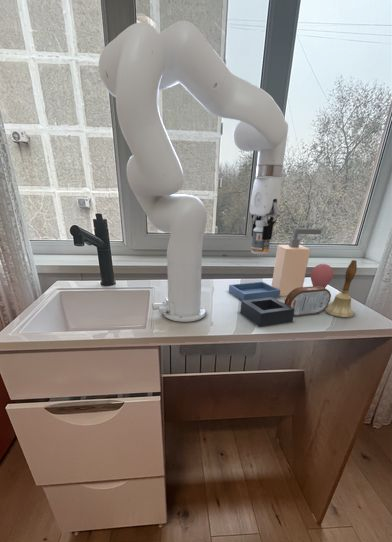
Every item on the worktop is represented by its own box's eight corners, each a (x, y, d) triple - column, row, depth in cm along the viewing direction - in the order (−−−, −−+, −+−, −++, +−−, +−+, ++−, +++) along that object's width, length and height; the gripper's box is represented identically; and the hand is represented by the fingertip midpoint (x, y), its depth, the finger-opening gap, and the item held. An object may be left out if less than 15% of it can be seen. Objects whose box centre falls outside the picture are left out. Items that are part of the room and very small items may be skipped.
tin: (321, 309, 91) (328, 284, 87) (328, 313, 89) (335, 286, 85) (281, 314, 87) (286, 287, 83) (287, 318, 84) (292, 291, 80)
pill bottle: (267, 255, 93) (271, 222, 88) (249, 253, 94) (253, 221, 89) (268, 252, 97) (273, 220, 93) (251, 250, 99) (255, 219, 94)
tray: (243, 301, 97) (244, 294, 96) (228, 291, 106) (229, 284, 105) (279, 297, 102) (280, 290, 100) (261, 288, 111) (262, 281, 110)
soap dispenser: (278, 295, 103) (289, 230, 92) (270, 288, 110) (280, 227, 100) (312, 295, 104) (327, 230, 93) (302, 288, 111) (315, 227, 101)
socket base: (259, 327, 79) (261, 313, 77) (240, 312, 88) (241, 300, 86) (292, 322, 82) (294, 309, 80) (270, 308, 91) (272, 296, 89)
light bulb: (309, 294, 105) (316, 260, 100) (329, 298, 102) (338, 263, 96) (303, 299, 100) (310, 264, 94) (324, 303, 97) (333, 267, 91)
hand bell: (330, 306, 95) (343, 256, 87) (357, 312, 90) (373, 260, 82) (320, 312, 89) (333, 260, 82) (348, 320, 84) (365, 265, 77)
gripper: (243, 174, 90) (238, 234, 99) (275, 171, 77) (265, 242, 85) (263, 174, 93) (257, 234, 102) (297, 172, 79) (286, 241, 88)
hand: (261, 237), depth 93 cm, fingers closed on pill bottle, 5 cm apart
